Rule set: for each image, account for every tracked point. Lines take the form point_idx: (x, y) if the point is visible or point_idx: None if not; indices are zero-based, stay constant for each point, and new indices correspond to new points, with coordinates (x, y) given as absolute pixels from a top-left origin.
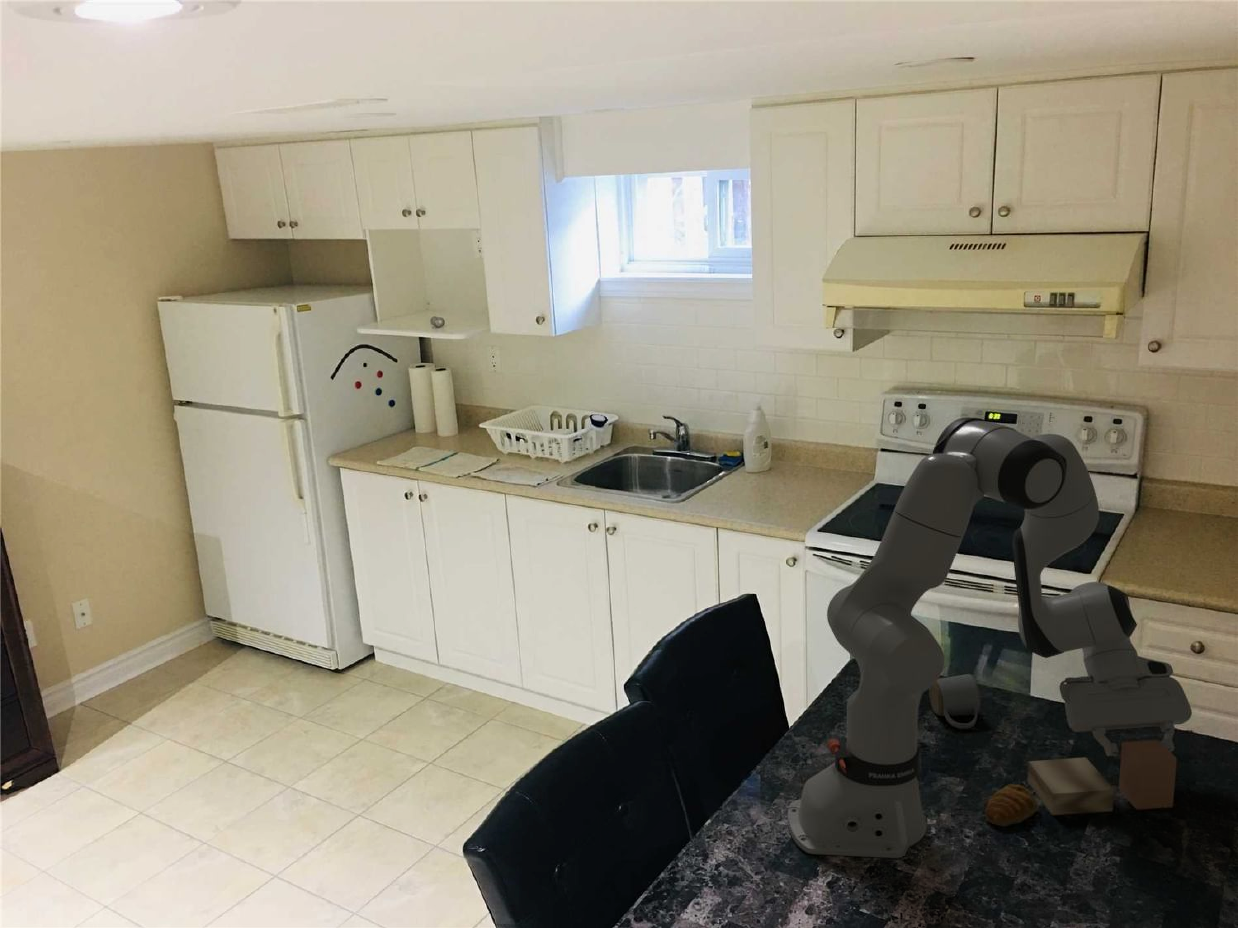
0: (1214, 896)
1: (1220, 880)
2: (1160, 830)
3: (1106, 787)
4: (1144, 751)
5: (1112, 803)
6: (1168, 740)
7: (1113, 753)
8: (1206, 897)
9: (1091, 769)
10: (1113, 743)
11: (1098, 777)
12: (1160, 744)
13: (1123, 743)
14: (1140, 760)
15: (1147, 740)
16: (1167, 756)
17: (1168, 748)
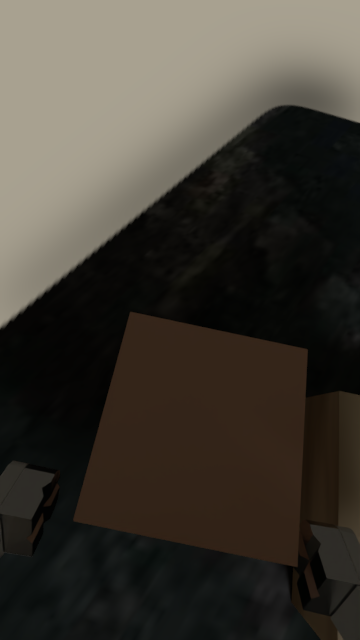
0: (267, 133)
1: (230, 154)
2: (237, 296)
3: (357, 409)
4: (235, 419)
5: (314, 397)
6: (5, 504)
7: (332, 524)
8: (281, 135)
9: None
10: (341, 579)
11: (355, 478)
12: (102, 457)
13: (295, 546)
14: (304, 351)
15: (137, 531)
16: (157, 341)
17: (43, 467)
